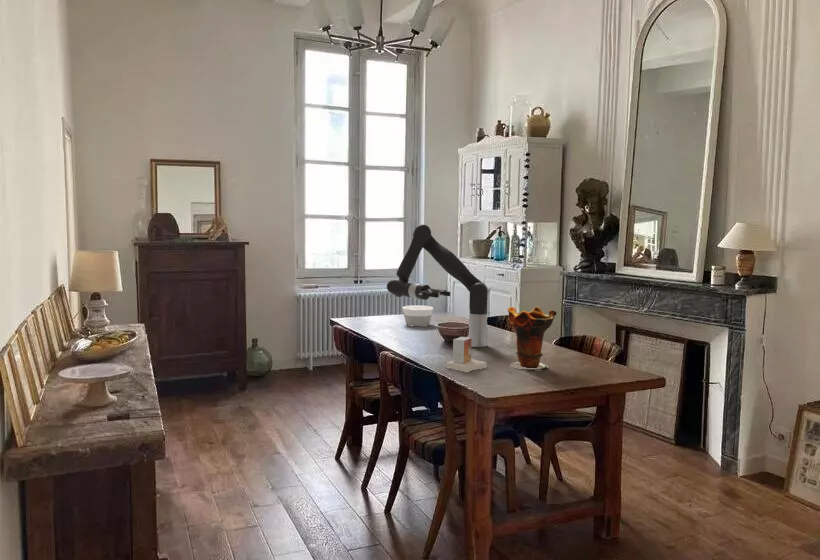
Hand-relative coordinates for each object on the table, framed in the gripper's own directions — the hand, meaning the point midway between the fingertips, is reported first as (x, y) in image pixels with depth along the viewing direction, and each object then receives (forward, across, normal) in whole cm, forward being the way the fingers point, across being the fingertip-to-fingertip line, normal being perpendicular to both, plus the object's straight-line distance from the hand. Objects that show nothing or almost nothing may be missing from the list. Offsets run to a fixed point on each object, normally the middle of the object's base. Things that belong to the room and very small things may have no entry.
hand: (444, 294), depth 315 cm
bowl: (-68, +54, +30) cm, 92 cm away
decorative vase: (+40, +14, +30) cm, 52 cm away
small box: (+20, -10, +28) cm, 36 cm away
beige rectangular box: (+23, -10, +30) cm, 39 cm away
